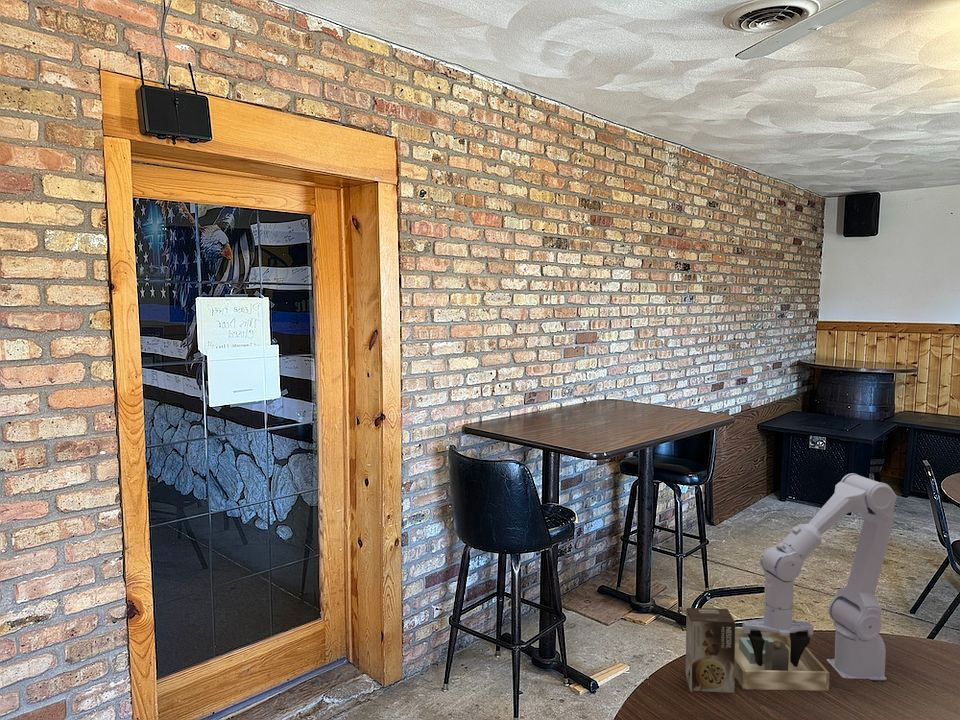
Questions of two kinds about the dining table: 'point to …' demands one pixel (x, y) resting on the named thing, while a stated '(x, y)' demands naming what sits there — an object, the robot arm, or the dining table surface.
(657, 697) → the dining table surface
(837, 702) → the dining table surface
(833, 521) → the robot arm
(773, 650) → the plug
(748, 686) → the walled box
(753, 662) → the socket
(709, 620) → the coffee box
